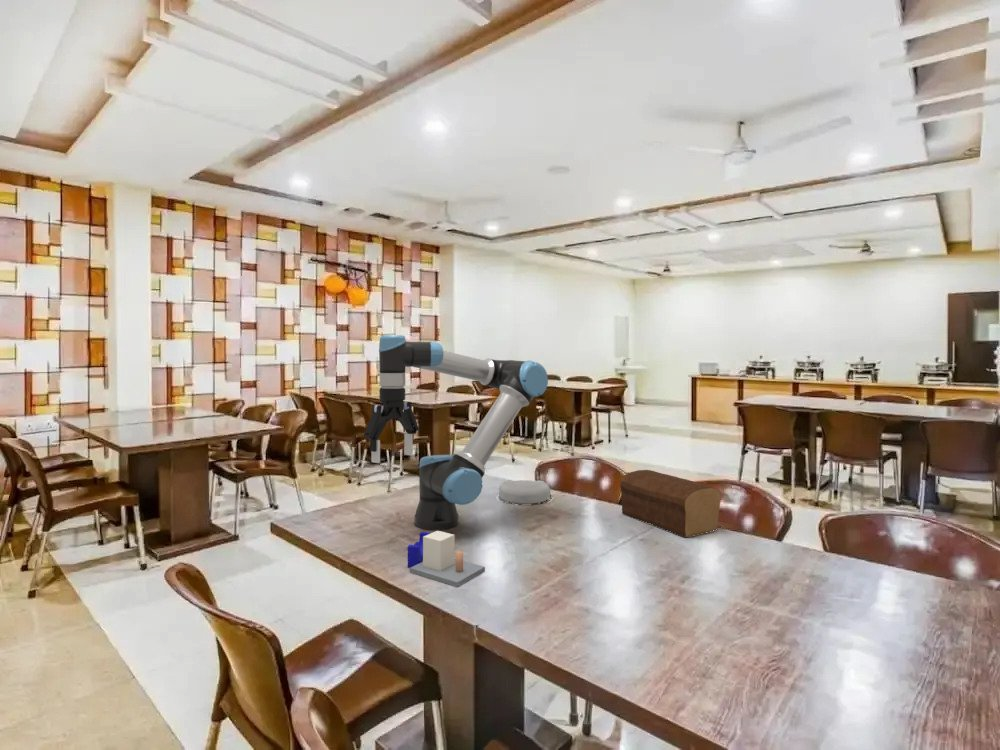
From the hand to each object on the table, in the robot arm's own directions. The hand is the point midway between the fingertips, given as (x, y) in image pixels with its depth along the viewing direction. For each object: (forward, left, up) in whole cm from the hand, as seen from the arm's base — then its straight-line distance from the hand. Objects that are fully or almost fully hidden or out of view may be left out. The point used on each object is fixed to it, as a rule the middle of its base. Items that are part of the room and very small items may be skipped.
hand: (392, 458), depth 167 cm
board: (+5, +25, -27) cm, 37 cm away
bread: (-72, +61, -27) cm, 98 cm away
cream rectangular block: (+5, +22, -26) cm, 34 cm away
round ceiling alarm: (-70, +4, -27) cm, 75 cm away
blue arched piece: (+3, +13, -27) cm, 30 cm away
